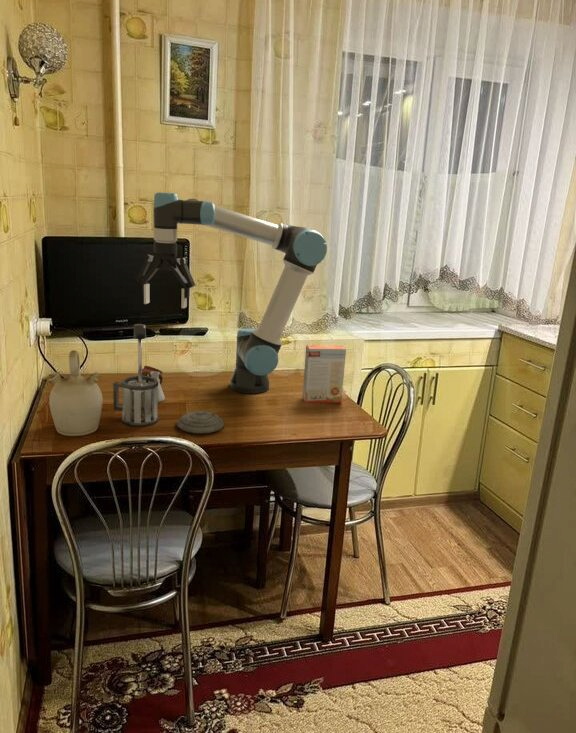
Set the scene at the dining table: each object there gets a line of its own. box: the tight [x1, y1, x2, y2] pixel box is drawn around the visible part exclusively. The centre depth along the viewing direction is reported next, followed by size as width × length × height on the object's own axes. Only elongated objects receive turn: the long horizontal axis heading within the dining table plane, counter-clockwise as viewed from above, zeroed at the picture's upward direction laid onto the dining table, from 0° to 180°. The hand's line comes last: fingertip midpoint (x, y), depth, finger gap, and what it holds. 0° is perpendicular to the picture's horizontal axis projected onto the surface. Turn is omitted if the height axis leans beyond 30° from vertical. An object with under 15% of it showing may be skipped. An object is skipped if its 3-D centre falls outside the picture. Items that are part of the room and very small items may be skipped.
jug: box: [48, 350, 104, 437], centre depth 182 cm, size 15×16×25 cm
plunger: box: [128, 323, 152, 393], centre depth 190 cm, size 8×8×21 cm
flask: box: [150, 372, 166, 403], centre depth 213 cm, size 7×7×10 cm
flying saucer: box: [176, 410, 225, 435], centre depth 193 cm, size 15×15×6 cm
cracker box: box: [302, 344, 347, 404], centre depth 223 cm, size 14×6×21 cm, turn 99°
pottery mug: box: [136, 365, 164, 384], centre depth 229 cm, size 12×10×8 cm
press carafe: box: [112, 375, 159, 428], centre depth 195 cm, size 15×12×13 cm
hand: (165, 305), depth 204 cm, fingers open, 13 cm apart
